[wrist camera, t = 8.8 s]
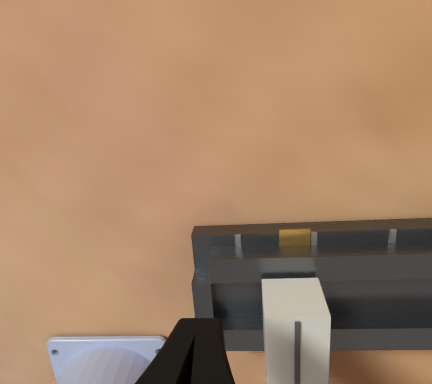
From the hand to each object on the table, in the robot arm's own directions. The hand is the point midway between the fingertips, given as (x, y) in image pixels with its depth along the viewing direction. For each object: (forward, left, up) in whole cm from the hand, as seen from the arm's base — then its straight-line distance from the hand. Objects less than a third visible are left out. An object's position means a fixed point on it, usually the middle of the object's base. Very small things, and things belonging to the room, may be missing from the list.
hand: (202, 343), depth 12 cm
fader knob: (-4, -3, -8) cm, 10 cm away
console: (-4, -9, -10) cm, 14 cm away
